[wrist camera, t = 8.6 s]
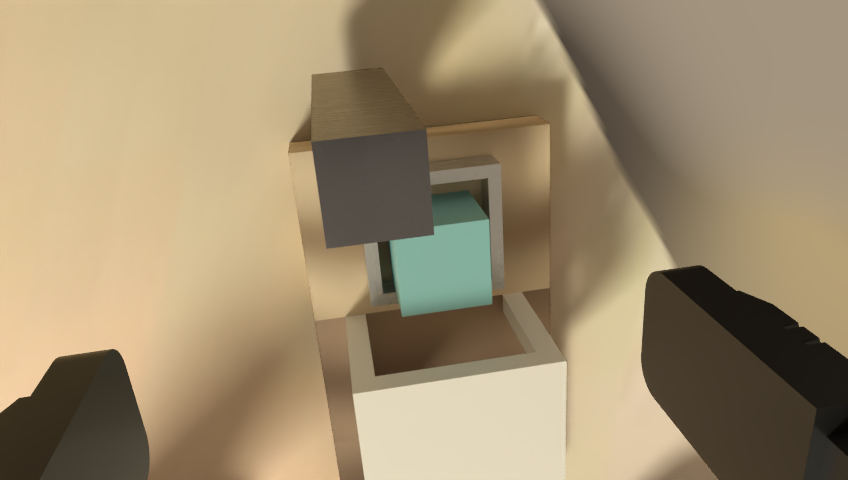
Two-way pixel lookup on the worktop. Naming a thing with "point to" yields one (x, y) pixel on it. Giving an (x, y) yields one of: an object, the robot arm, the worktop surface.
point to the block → (445, 259)
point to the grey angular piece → (385, 172)
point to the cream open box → (464, 410)
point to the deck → (347, 277)
